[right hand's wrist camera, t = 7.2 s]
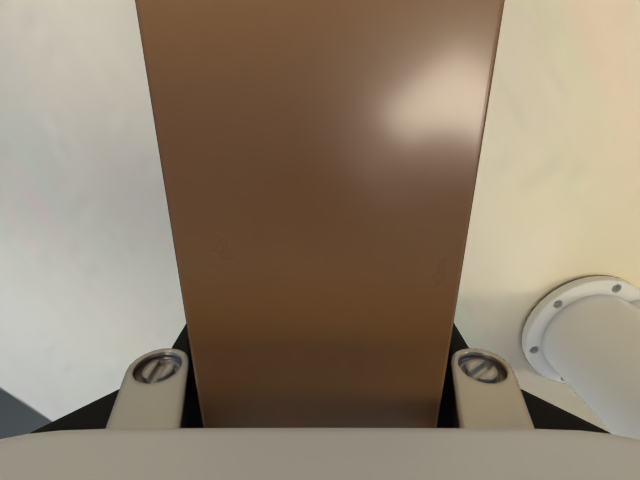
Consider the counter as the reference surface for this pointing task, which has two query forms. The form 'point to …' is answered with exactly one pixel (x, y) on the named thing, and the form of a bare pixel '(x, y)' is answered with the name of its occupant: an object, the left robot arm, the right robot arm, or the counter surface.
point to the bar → (319, 197)
